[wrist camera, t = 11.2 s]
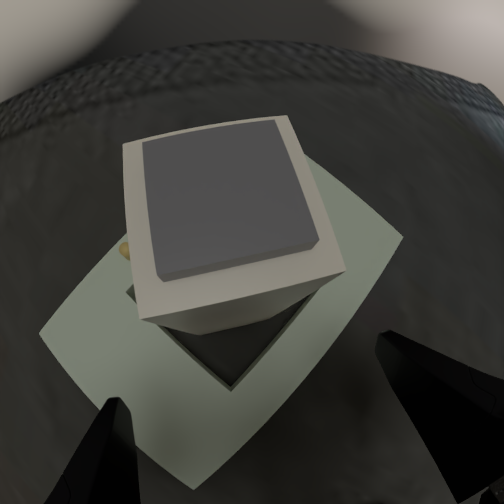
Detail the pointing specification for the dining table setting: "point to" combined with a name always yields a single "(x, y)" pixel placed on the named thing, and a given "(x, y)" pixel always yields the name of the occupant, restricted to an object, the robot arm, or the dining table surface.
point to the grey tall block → (224, 225)
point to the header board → (191, 368)
